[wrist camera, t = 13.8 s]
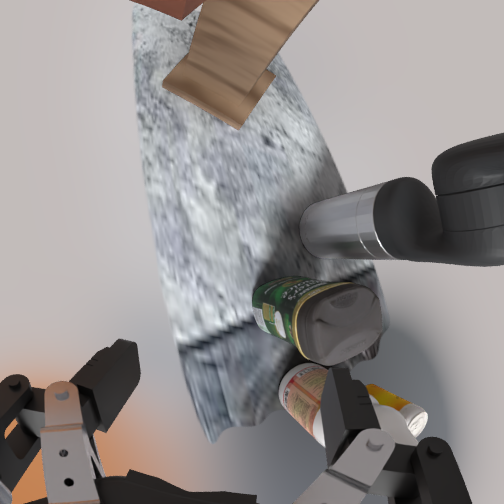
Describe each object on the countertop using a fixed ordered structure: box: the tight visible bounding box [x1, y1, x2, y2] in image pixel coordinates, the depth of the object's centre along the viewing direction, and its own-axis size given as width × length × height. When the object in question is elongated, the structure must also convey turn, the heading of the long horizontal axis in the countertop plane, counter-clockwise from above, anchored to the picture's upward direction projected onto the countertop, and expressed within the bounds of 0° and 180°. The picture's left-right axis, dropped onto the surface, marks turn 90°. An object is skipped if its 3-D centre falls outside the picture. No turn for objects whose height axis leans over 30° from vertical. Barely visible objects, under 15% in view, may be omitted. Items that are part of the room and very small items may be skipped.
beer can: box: [366, 384, 428, 437], centre depth 44 cm, size 6×6×15 cm
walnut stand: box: [162, 0, 319, 130], centre depth 27 cm, size 12×14×33 cm
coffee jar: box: [252, 276, 382, 366], centre depth 36 cm, size 10×8×19 cm
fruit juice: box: [279, 363, 418, 447], centre depth 33 cm, size 9×9×28 cm
